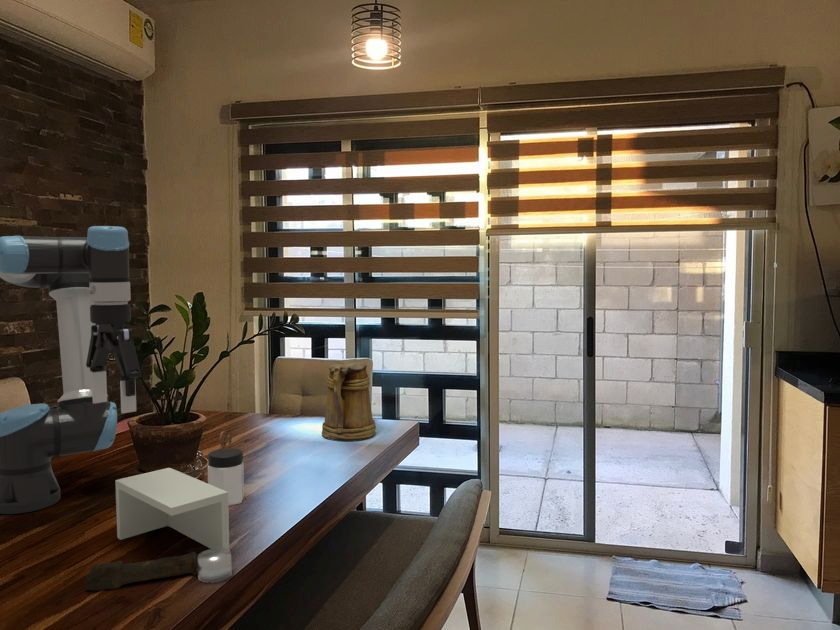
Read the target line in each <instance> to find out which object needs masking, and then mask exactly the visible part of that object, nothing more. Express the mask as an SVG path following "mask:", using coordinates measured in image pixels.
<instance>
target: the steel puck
mask: <svg viewBox="0 0 840 630" xmlns="http://www.w3.org/2000/svg"><path fill="white" fill-rule="evenodd" d="M196 558H197V579H198V580H199V581H200V582H201V581H202V583H205V582H206V584H211V583H212V584H214V583H215V582H216V583H220V581H221V582H224V581H225V580H228V579H229V578H230V577H231V576H232V574H233V573H232V572H233V571H232V552H231V550H230V549H229V550H227V549H223V548H215V549H210V548H208V549H207V550H204V551H201V552H200V553H199V554H198V555H197V556H196ZM227 578H228V579H227ZM223 580H224V581H223ZM209 582H210V583H209ZM216 583H215V584H216Z"/></svg>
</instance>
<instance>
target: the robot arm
mask: <svg viewBox="0 0 840 630" xmlns="http://www.w3.org/2000/svg"><path fill="white" fill-rule="evenodd" d="M128 233H129V232H128V230H127V229H126V228H125V227H124V226H116V225H115V226H114V225H112V226H110V225H93V226H90V227H88V229H87V236H86V237H83V236H82V237H81V236H80V237H79V236H78V237H77V236H55V237H54V236H27V235H25V236H22V235H12V236H11V235H7V236H5V235H4V236H0V279H1V280H3V281H4V282H7V283H9V284H13V285H16V286H19V287H26V288H38V289H39V288H40V289H41V288H44V289H45V288H48V295H49V297H51V298H52V299H54V300H55V301H56V313H57V327H58V328H57V329H58V339H59V352H60V365H61V375H62V376H61V377H62V388H63V394H62V395H61V396H60V398H59V399H58V400H57V402H56V403H57V408H50V406H49V405H48V403H42V402H41V403H33V404H32V403H31V404H26V405H20V406H17V407H12V408H10V409H7V410H4V411H2V412H0V515H17V514H24V513H31V512H35V511H39V510H43V509H46V508H49V507H51V506H53V505H55V504H57V503H58V502H60V500H61V499H62V496H61V487H60V485H59V483H58V481H57V478H56V475H55V473H54V471H53V468H52V458H55V457H62V456H68V455H75V454H83V453H89V452H91V453H93V452H96V451H100V450H101V451H102V450H106V449H108V448H110V447H112V445H113V443H114V442H115V438H116V435H117V434H116V433H117V427H118V411H117V410H118V409H117V404H116V402H112V401H109V394H108V387H107V370H108V368H107V365H106V364H107V362H108V358H109V356H110V353H111V354H113V357H114V359H115V362H116V365H117V368H118V370H119V373H120V375H121V376H119V379H118V380H119V382H120V384H119V385H120V413H121V414H127V413H134V412H137V391H136V390H137V389H136V387H137V386H136V380H137V379H138V377H140V378H141V377H142V371H141V365H140V363H139V358H138V355H137V349H136V346H135V341H134V335H133V329H132V328H125V327H124V324H125V323H130V322H131V320H132V308H131V305H130V304H129V303H128V302H130V301H132V299H131V296H132V295H131V294H132V293H131V282H130V281H131V280H130V240H129V234H128Z"/></svg>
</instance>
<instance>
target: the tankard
mask: <svg viewBox="0 0 840 630" xmlns="http://www.w3.org/2000/svg"><path fill="white" fill-rule="evenodd" d="M367 367H368V365H367V363H366V362H365V361H362V360H358V359H356V358H353V359H343V360H339V361H336V362H334V363H331V364H330V365H329V366H328V370H329V375H328V376H327V380H326V386H327V397H326V406H325V413H324V414H325V415H324V422H322V426H321V427H322V431H321V436H322V437H324V438H326V439H327V440H331V439H333V440H332V441H336V440H338V441H339V440H342V441H341V442H352V441H351V440H357V441H362V439H363V440H365V439H366V440H367V439H369V438H371V437H374V436H375V434H376V429H377V426H376V422H375V421H374V419H373V413H372V405H371V404H372V403H371V398H370V397H371V396H370V388H369V387H370V385H371V383H370V376H369V374H368V372H367Z"/></svg>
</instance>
